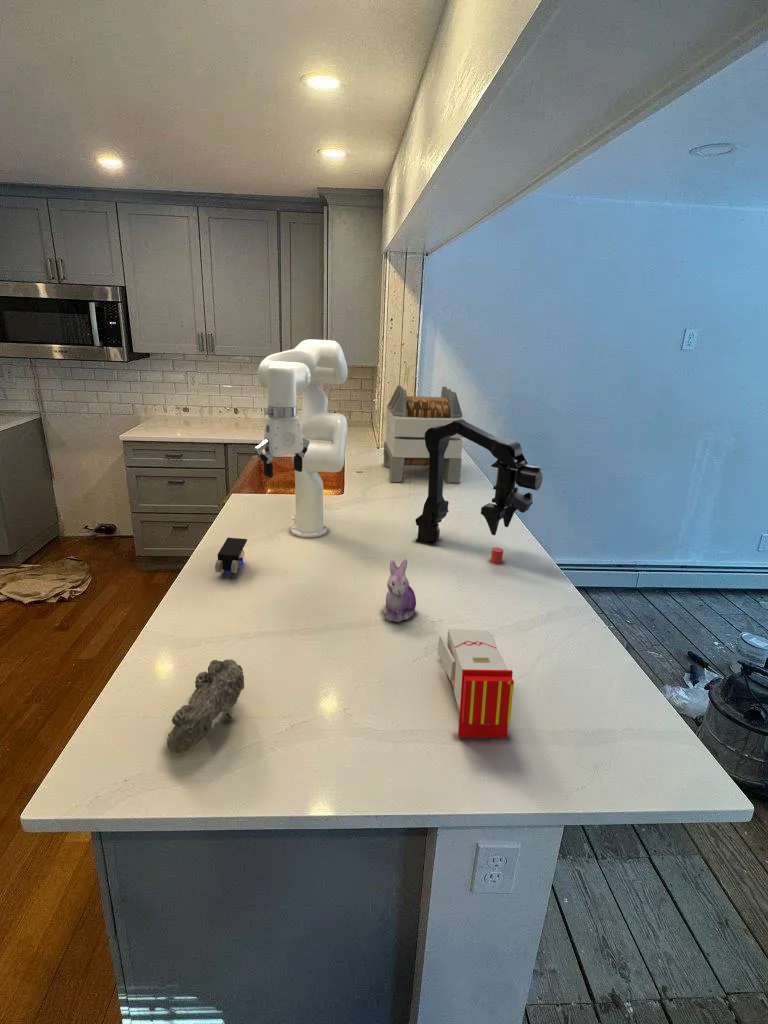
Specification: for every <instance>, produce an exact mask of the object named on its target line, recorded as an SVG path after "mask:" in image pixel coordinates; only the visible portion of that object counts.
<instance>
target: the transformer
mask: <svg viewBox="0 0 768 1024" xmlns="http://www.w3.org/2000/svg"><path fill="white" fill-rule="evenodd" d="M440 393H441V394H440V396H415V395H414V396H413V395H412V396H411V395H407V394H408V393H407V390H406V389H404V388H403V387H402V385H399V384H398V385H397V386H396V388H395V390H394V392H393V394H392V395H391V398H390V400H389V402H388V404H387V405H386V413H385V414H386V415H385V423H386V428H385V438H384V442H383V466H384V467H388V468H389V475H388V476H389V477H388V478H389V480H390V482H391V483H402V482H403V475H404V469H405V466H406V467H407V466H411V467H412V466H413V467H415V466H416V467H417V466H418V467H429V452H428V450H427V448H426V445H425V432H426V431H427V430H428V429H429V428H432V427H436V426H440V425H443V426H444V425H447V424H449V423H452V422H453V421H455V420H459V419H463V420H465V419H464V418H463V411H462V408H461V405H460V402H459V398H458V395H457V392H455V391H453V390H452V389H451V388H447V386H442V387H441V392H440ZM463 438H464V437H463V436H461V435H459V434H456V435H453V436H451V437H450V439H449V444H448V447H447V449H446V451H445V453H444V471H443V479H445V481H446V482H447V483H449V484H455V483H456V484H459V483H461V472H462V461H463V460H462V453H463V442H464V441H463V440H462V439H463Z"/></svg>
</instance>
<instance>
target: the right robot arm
mask: <svg viewBox="0 0 768 1024" xmlns="http://www.w3.org/2000/svg"><path fill="white" fill-rule="evenodd" d="M463 419H464V418H462V419H459V420H455V421H453V422H452V423H449V424H447V425H444V426H443V425H440V426H436V427H432V428H429V429H428V430H427V431H426V432H425V445H426V448H427V450H428V452H429V465H428V484H427V485H428V488H427V498H426V499H425V502H424V504H423V507H422V512H421V513H422V514H420V515H419V516H418V517H417V518H415V524H416V526H418V527H417V538H416V539H415V542H417V543H421V544H425V545H430V546H435V544H436V543H437V542H438V541H439V540H440V532H441V528H439V526H440V524H439V523H441V522H442V520H443V519H444V518H445V517H446V516H447V515H448V513H449V503H450V502H449V500H445V499H444V495H443V492H444V476H443V475H444V474H443V471H444V453H445V451H446V449H447V447H448V444H449V439H450V437H451V436H453V435H456V434H459V435H461V436H463V438H464V439H467V440H468V441H470V442H473V443H474V444H476V445H478V446H480V447H482V448H484V449H485V450H487V451H489V453H490V454H491V456H493V457H494V458H495V459H496V461H495V462H493V463H492V464H491V467H492V468H495V469H497V472H496V483H495V485H493V487H492V489H493V490H495V491H494V497H493V498H491V502H489V503H486V504H485V505H483V506H482V507H481V508H480V515H482V517H484V519H485V521H486V524H487V526H488V528H489V531H490V534H491V535H492V536H496V534H497V532H498V527H499V523H500V521H501V520H502V519H503V525H504V528H509V526H510V523H511V521H512V519H513V517H514V514H515V512H516V511H517V510H518V512H520V513H521V514H524V513H525V512H527V511H529V510H530V507H531V506H532V505H533V504H534V502H533V501H534V499H533V493H531V492H529V491H528V492H526V493H523V492H522V493H520V492H519V488H518V487H520V488H524V489H527V490H534V491H538V490H539V489H540V488H541V486H542V483H543V480H544V476H543V472H542V467H541V466H534V465H530V464H529V462H528V460H527V459H526V457H525V455H524V453H523V448H522V445H521V443H519V441H515V440H512V439H508V438H503V437H498V436H495V435H493V434H491V433H489V432H488V431H485V430H484V429H482V428H479V427H478V426H476V425H474V424H472V423H469V422H467V420H465V419H464V420H463Z"/></svg>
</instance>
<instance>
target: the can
mask: <svg viewBox="0 0 768 1024" xmlns="http://www.w3.org/2000/svg"><path fill="white" fill-rule="evenodd" d="M503 556H504V549H503V548H501V547H498V546H497V547H492V548H491V556H490V557H491V558H490V562H491V563H492V564H495V565H501V564H502V563H503Z"/></svg>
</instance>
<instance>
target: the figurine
mask: <svg viewBox="0 0 768 1024" xmlns="http://www.w3.org/2000/svg"><path fill="white" fill-rule="evenodd" d="M407 567H408V559H406V558H404V559H403V560H402V561H401V563H400V565H399V566H398V565H397V563H396V562H395V561H394V560H393V559H391V560H390V561H389V570H390V576H389V578H388V579H387V589H388V591H387V592H386V594H385V595H386V596H385V607H384V615H385V616H386V620H387V621H391V622H395V623H400V622H402V621H406V620H409V619H410V618H411V617H413V616H414V615H415V610H416V606H417V597H416V593H415V591H414V590H413V587H411V586H410V582H409V579H408V577H407V574H406V571H407Z"/></svg>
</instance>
